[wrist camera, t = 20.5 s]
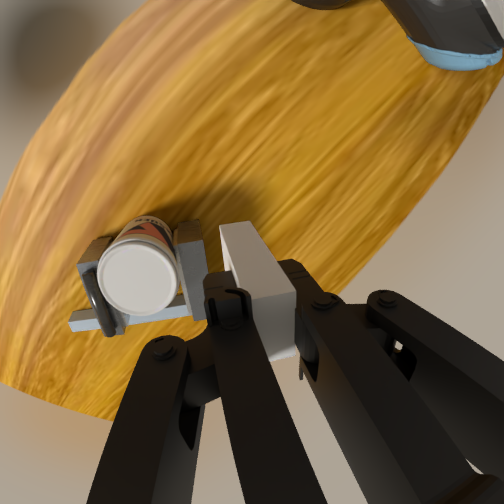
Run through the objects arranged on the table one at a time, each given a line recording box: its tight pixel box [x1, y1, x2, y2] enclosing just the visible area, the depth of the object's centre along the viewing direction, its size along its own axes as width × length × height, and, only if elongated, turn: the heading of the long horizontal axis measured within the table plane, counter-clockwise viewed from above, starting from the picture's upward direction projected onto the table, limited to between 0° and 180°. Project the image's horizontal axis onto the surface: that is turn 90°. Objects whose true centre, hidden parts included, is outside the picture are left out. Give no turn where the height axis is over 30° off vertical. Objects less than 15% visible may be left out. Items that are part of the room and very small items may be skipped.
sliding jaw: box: [76, 236, 130, 337], centre depth 35 cm, size 11×4×10 cm, turn 4°
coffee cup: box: [97, 216, 180, 316], centre depth 34 cm, size 9×9×12 cm
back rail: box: [68, 294, 193, 332], centre depth 42 cm, size 2×24×3 cm, turn 95°
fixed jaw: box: [173, 219, 209, 321], centre depth 38 cm, size 11×4×8 cm, turn 4°
